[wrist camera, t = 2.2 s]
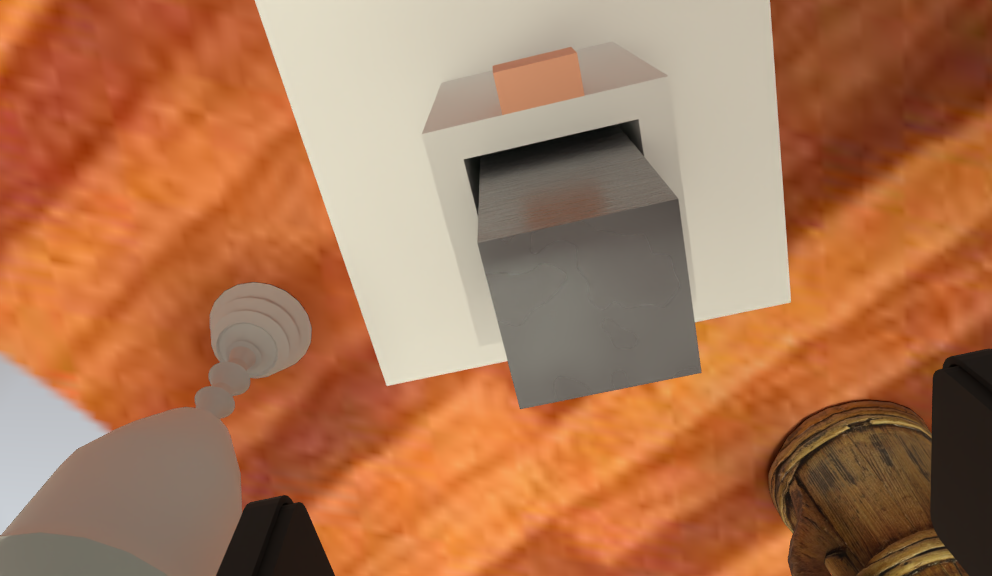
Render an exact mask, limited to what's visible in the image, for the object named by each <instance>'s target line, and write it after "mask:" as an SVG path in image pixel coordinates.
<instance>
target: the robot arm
mask: <svg viewBox="0 0 992 576" xmlns="http://www.w3.org/2000/svg"><path fill="white" fill-rule="evenodd" d="M930 516H931V521H932V525H933V527H934V530H935V532H936V534H937V536H938V538H939V539H940V540H941V542H942V543H943V544H944V546H945V547H946V548H947V549H948V550H949V552H950V553H951V554H952V555H953V557H954V558H955V559H956V560H957V561H958V563H959V564H960V565H961V566H962V568H963V569H964V570H965V571H966V572H967V574H968V575H969V576H992V349H985V350H980V351H975V352H970V353H965V354H961V355H956V356H951V357H949V358H947V359H946V360H945V362H944V364H943V369H939V370H937V371H935V373H934V375H933V394H932V445H931V496H930ZM216 576H335V575H334V572H333V570H332V568H331V565H330V563H329V561H328V558H327V556H326V554H325V551H324V549H323V547H322V544H321V542H320V540H319V537H318V535H317V533H316V531H315V528H314V526H313V524H312V521H311V519H310V517H309V514H308V512H307V510H306V508H305V506H304V505H303V504H302V503H300V502H298V503H293V501H292V500H291V499H290V498H289V497H288V496H285V495H283V496H278V497H274V498H269V499H264V500H259V501H254V502H250V503H249V504H247V505H246V507H245V508H244V510H243V513H242V515H241V517H240V520H239V522H238V524H237V527H236V529H235V532H234V534H233V536H232V539H231V541H230V543H229V546H228V548H227V550H226V553H225V555H224V557H223V560H222V562H221V565H220V567H219V569H218V572H217V574H216Z"/></svg>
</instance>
